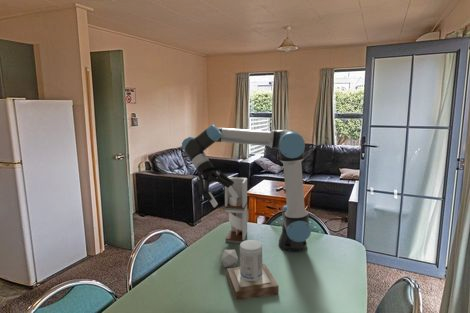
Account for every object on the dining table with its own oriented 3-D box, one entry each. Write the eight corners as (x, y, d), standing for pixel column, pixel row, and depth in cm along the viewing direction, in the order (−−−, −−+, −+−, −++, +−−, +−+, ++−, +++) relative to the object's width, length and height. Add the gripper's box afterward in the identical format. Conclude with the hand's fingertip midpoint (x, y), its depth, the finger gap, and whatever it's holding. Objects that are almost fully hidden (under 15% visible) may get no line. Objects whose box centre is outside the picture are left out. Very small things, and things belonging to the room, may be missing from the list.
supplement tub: (255, 268, 141) (255, 237, 138) (266, 278, 132) (266, 246, 130) (236, 273, 136) (235, 242, 134) (246, 284, 128) (246, 251, 125)
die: (232, 273, 145) (242, 255, 147) (216, 263, 146) (227, 245, 148) (232, 270, 153) (242, 253, 155) (217, 261, 154) (227, 244, 156)
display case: (229, 233, 188) (229, 177, 182) (247, 235, 186) (247, 178, 179) (225, 241, 177) (224, 182, 171) (244, 243, 175) (243, 183, 168)
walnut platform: (265, 271, 146) (265, 263, 145) (278, 294, 128) (278, 285, 128) (227, 276, 142) (227, 267, 141) (235, 300, 125) (235, 291, 124)
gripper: (217, 165, 159) (240, 199, 151) (178, 174, 140) (202, 213, 133) (225, 156, 154) (248, 191, 147) (185, 164, 136) (210, 204, 129)
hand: (226, 202), depth 140 cm, fingers open, 13 cm apart
